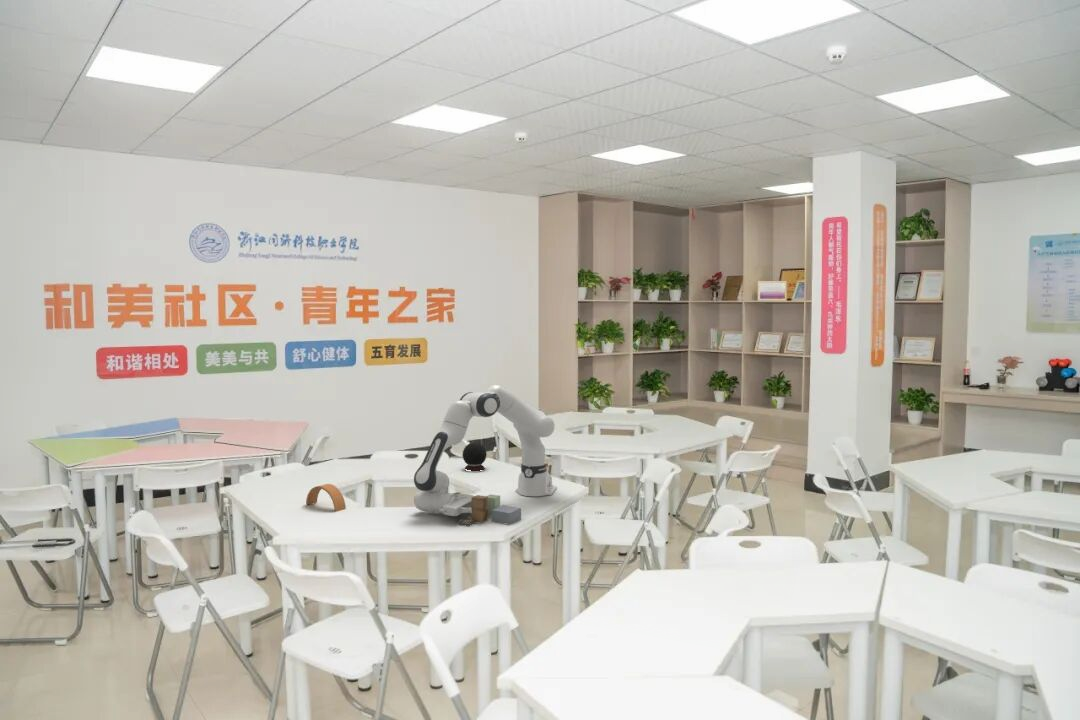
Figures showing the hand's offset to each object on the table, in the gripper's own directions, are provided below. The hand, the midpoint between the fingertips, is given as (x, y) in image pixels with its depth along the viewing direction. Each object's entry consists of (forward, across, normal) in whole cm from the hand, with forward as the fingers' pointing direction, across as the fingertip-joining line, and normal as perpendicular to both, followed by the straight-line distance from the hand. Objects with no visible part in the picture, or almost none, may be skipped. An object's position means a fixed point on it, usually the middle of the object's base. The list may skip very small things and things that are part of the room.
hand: (477, 507), depth 308 cm
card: (-2, -6, +5) cm, 8 cm away
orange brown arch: (-72, -9, +6) cm, 73 cm away
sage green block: (+2, +10, +6) cm, 12 cm away
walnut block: (+1, 0, +5) cm, 5 cm away
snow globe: (-46, +84, +6) cm, 96 cm away
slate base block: (+11, +5, +6) cm, 13 cm away
